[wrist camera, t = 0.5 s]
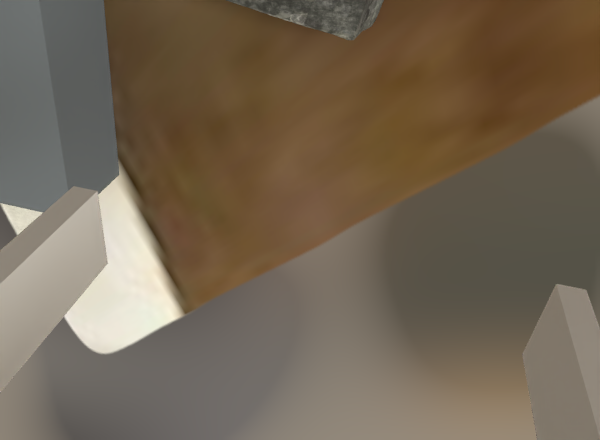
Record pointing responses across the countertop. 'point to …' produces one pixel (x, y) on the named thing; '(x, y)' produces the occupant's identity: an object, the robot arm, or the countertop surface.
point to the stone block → (322, 13)
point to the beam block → (54, 101)
